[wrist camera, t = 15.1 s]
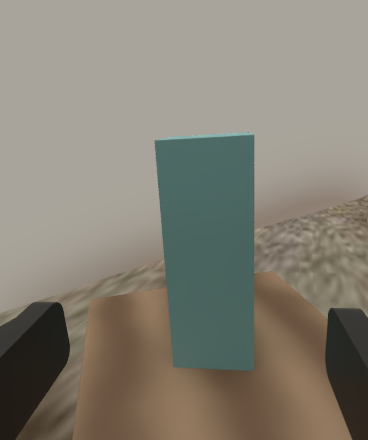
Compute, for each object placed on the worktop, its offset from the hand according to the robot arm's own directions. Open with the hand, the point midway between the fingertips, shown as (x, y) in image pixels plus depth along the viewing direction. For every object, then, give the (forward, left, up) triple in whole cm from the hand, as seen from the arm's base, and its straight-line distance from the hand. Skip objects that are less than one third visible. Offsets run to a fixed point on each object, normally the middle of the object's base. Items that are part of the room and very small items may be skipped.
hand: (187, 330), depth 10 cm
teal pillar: (-4, -10, -9) cm, 14 cm away
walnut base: (-4, -10, -13) cm, 17 cm away
